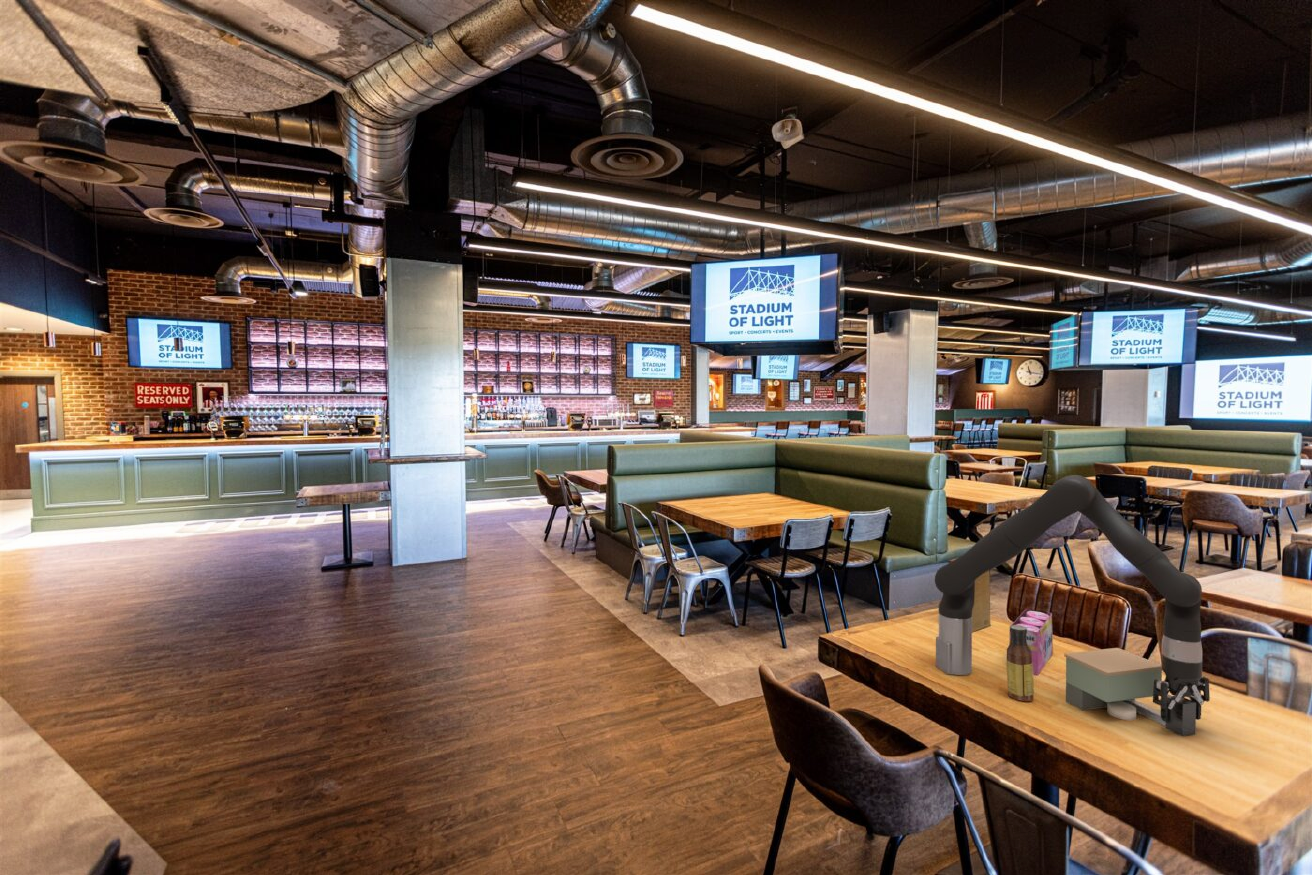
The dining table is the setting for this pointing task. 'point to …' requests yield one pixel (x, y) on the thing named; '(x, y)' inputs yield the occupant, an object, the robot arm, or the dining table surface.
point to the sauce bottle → (1019, 665)
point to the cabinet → (1108, 677)
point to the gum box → (1037, 636)
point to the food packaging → (981, 602)
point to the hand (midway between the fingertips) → (1181, 719)
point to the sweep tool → (1181, 716)
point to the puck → (1121, 710)
